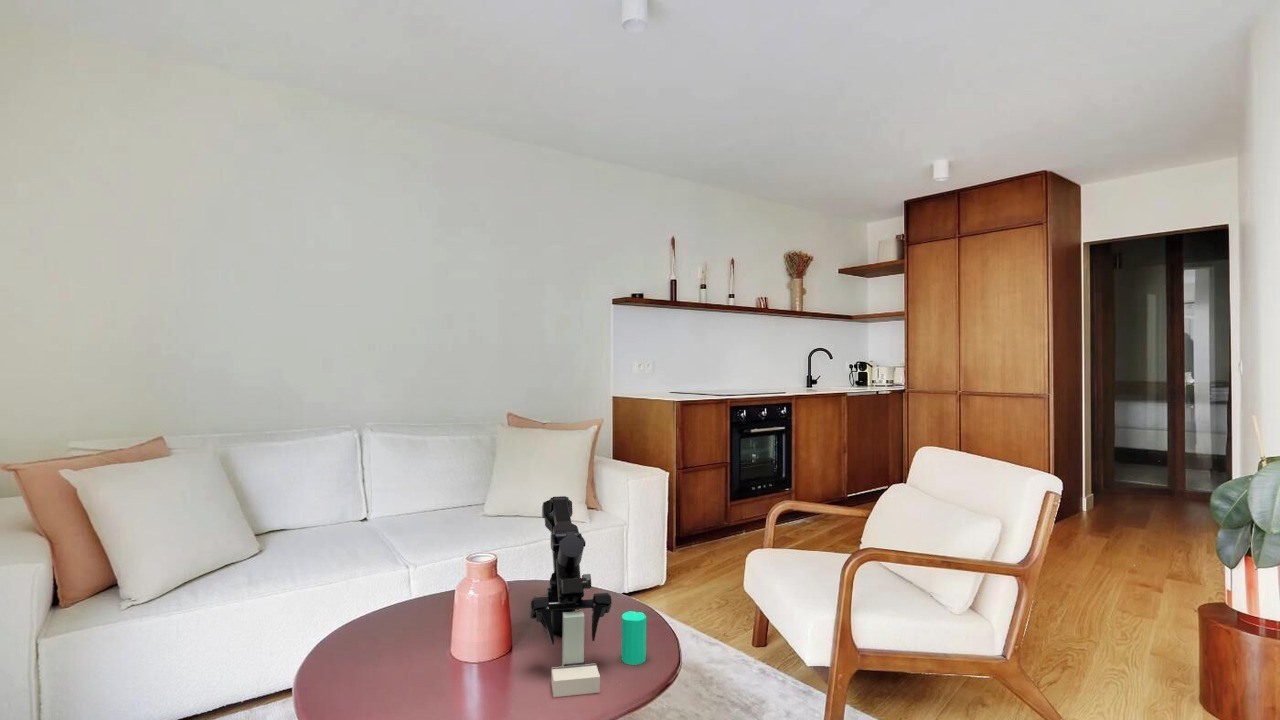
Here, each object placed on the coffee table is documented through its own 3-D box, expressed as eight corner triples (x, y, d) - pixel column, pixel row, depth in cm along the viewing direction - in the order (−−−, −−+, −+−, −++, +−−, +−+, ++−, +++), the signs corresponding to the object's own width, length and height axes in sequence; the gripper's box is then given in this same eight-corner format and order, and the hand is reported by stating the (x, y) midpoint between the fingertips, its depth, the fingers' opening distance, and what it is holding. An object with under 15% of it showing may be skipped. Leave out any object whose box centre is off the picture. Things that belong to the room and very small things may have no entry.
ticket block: (551, 683, 145) (551, 667, 145) (595, 678, 147) (595, 663, 147) (553, 697, 139) (553, 680, 139) (599, 692, 141) (600, 676, 141)
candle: (643, 666, 153) (644, 615, 153) (618, 663, 154) (619, 613, 154) (648, 654, 159) (648, 605, 159) (624, 651, 160) (625, 603, 160)
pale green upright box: (561, 672, 149) (562, 612, 148) (581, 670, 150) (582, 610, 149) (563, 679, 146) (564, 617, 145) (583, 677, 147) (584, 616, 146)
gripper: (531, 563, 150) (533, 631, 139) (610, 559, 154) (618, 624, 143) (529, 585, 158) (531, 651, 147) (605, 580, 162) (612, 644, 151)
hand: (573, 642), depth 147 cm, fingers open, 9 cm apart
